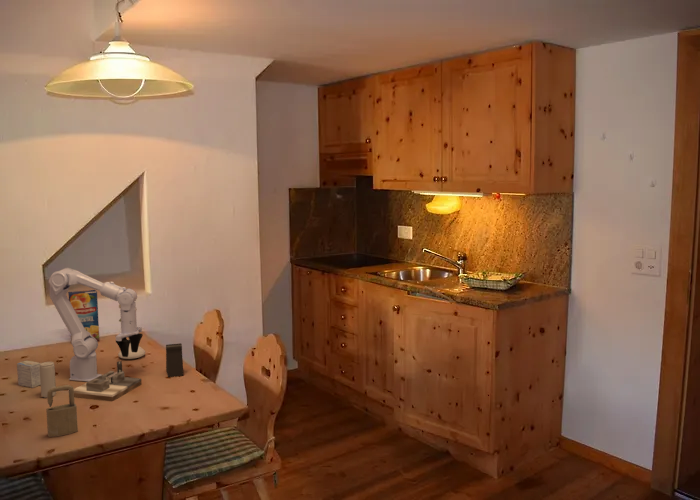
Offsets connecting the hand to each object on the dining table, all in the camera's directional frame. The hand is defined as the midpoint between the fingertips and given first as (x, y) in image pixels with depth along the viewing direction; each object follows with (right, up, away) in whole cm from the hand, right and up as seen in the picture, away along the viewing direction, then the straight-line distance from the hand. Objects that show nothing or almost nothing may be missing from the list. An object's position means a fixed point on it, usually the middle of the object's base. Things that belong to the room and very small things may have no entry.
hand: (130, 354), depth 237 cm
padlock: (-2, -16, -50) cm, 53 cm away
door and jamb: (-4, -11, -13) cm, 18 cm away
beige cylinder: (-22, -12, -19) cm, 32 cm away
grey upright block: (-35, -11, -8) cm, 38 cm away
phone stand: (+16, -9, +7) cm, 19 cm away
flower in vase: (-10, -6, +28) cm, 30 cm away
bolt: (-2, -8, -9) cm, 12 cm away
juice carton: (-41, -3, +53) cm, 67 cm away
